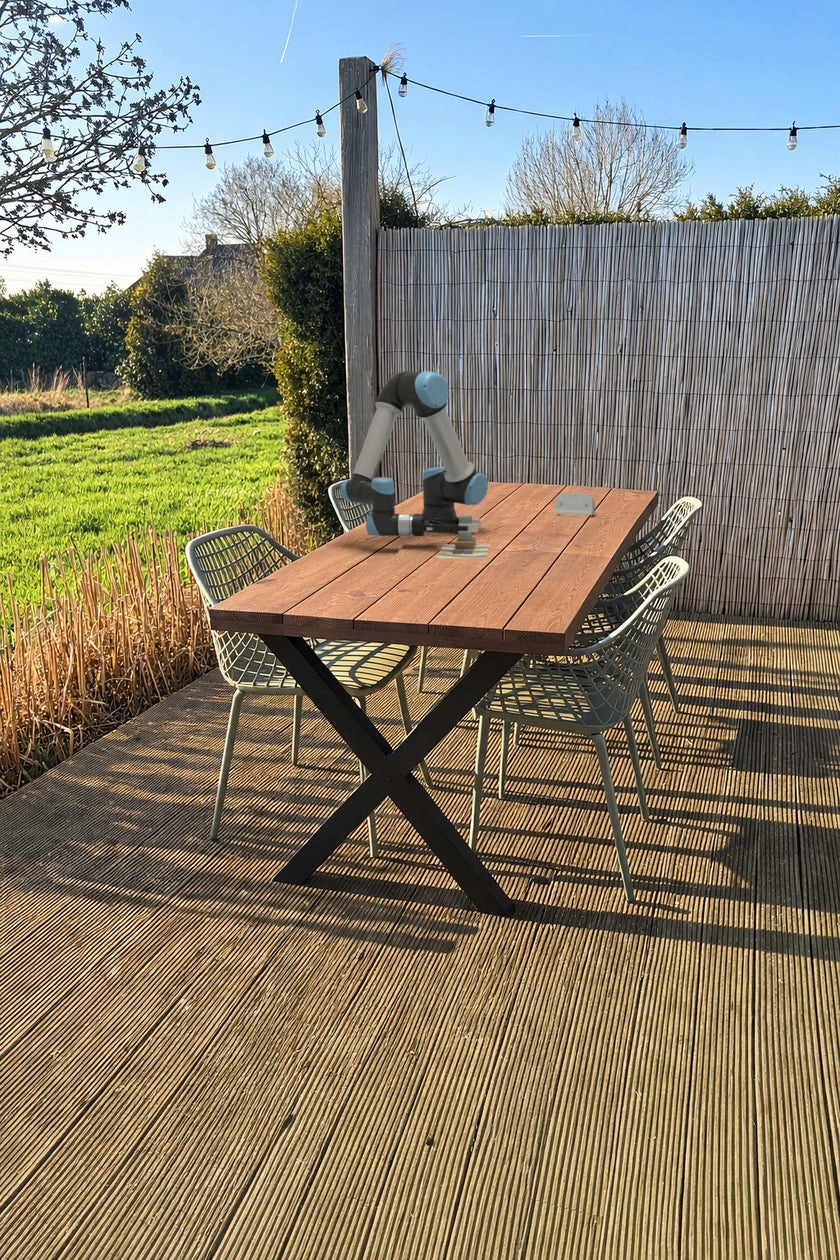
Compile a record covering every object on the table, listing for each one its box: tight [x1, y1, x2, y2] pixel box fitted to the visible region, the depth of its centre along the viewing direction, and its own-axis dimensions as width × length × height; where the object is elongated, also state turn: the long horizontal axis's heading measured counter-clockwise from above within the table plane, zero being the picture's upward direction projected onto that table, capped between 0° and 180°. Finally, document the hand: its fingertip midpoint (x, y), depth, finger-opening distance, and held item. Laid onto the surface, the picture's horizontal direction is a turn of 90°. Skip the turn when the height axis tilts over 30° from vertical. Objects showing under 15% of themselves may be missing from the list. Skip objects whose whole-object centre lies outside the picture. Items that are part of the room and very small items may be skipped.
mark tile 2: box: [463, 549, 473, 554], centre depth 321 cm, size 3×3×1 cm
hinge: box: [552, 492, 596, 515], centre depth 392 cm, size 17×5×10 cm, turn 65°
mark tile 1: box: [453, 549, 463, 554], centre depth 321 cm, size 3×3×1 cm
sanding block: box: [454, 514, 477, 550], centre depth 328 cm, size 10×6×11 cm, turn 172°
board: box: [435, 543, 491, 560], centre depth 324 cm, size 22×16×2 cm
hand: (479, 525), depth 327 cm, fingers open, 9 cm apart
